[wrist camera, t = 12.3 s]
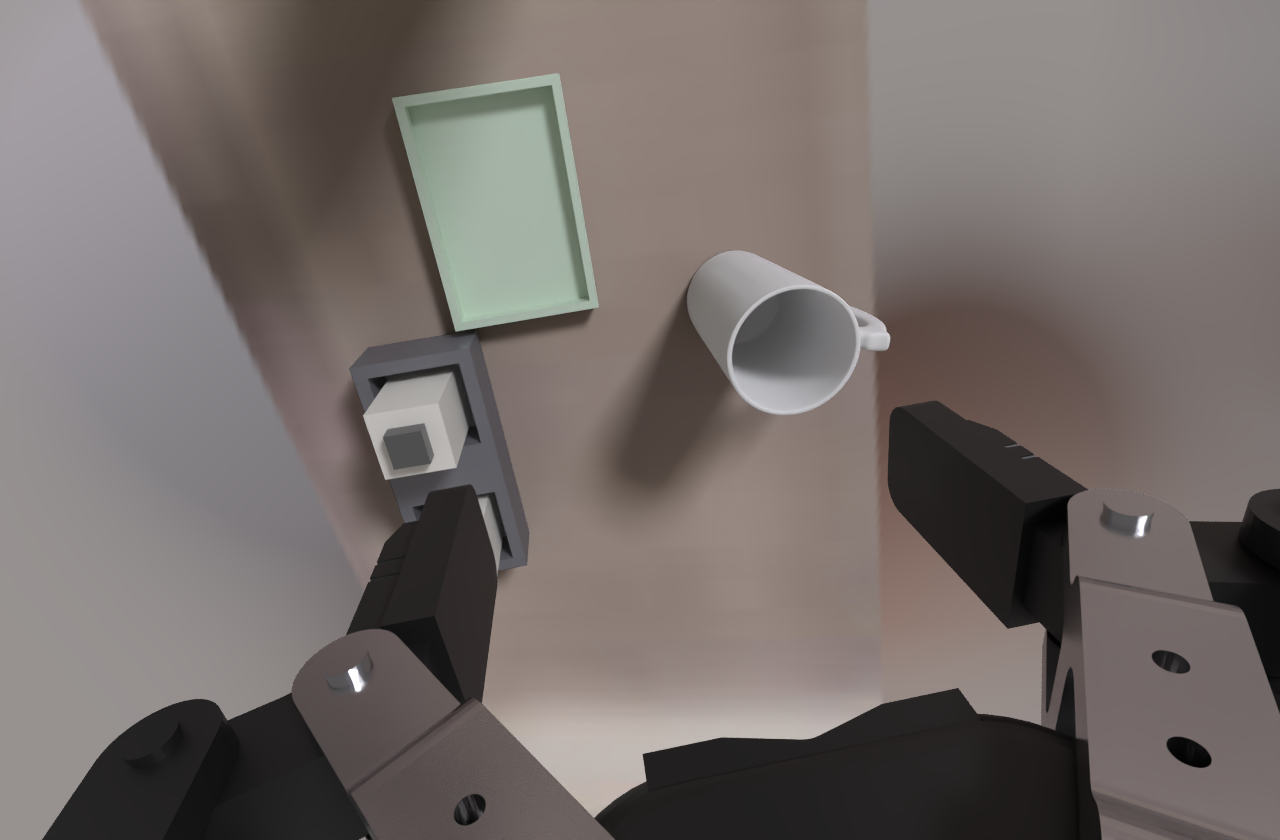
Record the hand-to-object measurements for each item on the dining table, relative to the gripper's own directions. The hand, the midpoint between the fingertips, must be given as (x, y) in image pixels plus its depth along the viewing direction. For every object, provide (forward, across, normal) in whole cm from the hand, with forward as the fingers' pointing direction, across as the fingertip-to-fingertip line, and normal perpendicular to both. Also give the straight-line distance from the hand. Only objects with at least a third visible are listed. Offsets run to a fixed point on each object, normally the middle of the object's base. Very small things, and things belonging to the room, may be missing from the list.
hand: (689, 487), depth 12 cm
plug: (+29, +12, +8) cm, 32 cm away
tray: (+30, +5, -3) cm, 31 cm away
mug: (+30, -10, +5) cm, 32 cm away
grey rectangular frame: (+30, +12, +12) cm, 35 cm away
